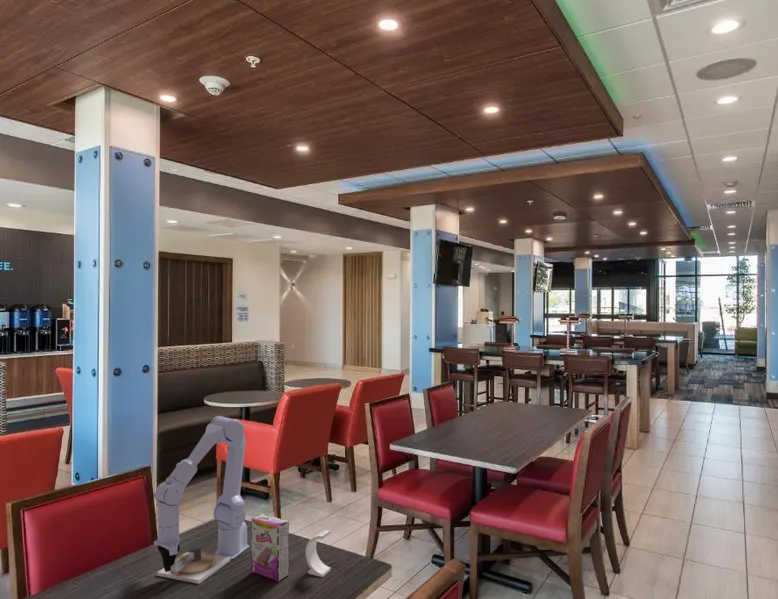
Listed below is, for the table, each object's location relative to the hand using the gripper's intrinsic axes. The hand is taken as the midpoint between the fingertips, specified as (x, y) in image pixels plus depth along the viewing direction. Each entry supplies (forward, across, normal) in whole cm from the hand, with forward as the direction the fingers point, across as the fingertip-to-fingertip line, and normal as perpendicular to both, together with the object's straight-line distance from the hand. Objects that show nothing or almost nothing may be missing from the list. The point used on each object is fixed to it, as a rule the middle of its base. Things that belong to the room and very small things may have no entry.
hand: (168, 570), depth 158 cm
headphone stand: (+3, +21, +38) cm, 44 cm away
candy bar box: (+3, +14, +26) cm, 30 cm away
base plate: (+2, -2, +8) cm, 9 cm away
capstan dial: (+1, -1, +6) cm, 6 cm away
